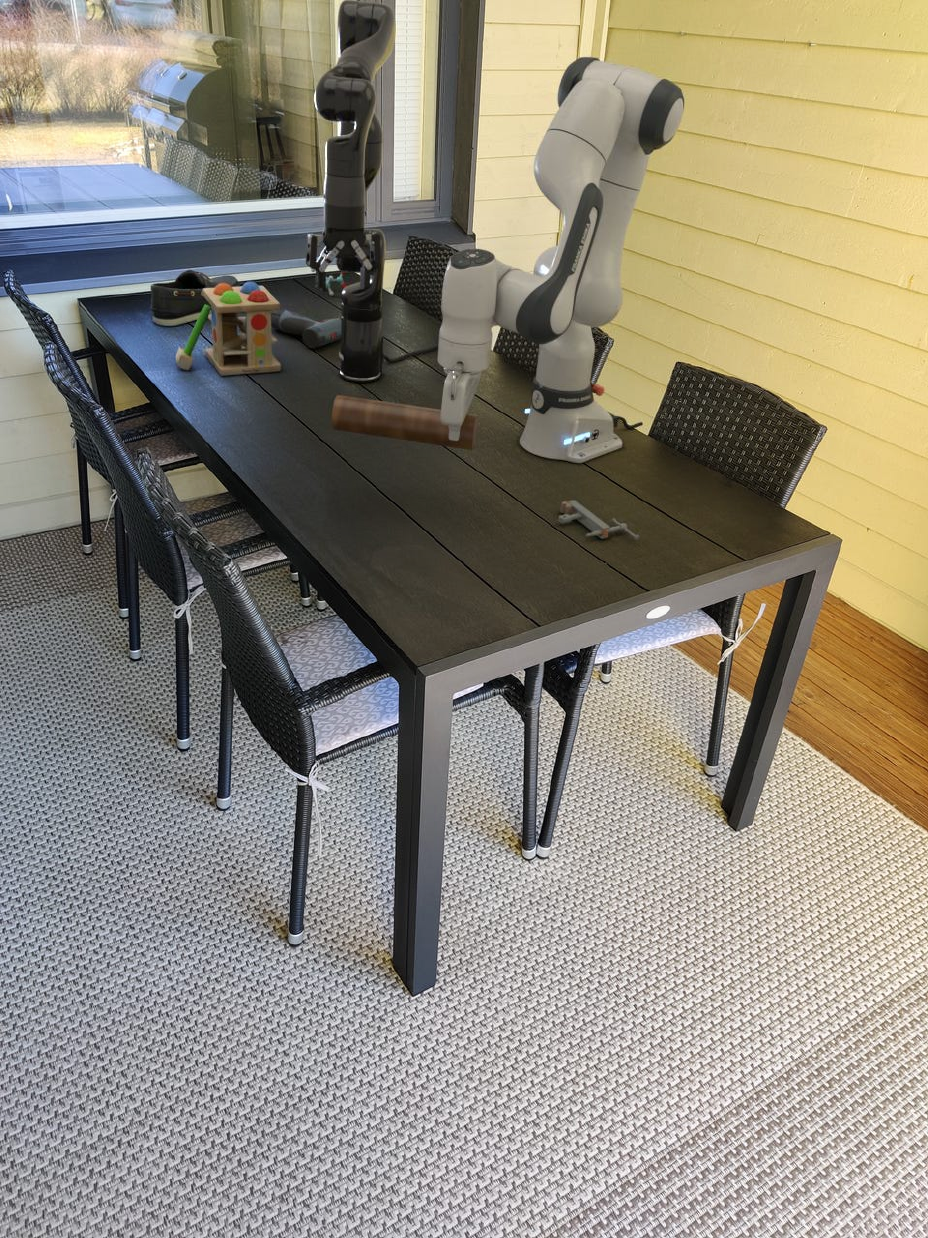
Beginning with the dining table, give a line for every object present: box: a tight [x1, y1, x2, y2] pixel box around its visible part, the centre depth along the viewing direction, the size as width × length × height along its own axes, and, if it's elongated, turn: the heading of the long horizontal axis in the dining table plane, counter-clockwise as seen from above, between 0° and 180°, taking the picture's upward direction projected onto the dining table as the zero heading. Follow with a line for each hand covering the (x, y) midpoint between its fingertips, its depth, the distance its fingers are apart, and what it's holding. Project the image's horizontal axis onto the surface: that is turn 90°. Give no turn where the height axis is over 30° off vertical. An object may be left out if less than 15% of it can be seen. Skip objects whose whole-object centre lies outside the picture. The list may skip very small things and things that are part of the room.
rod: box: [331, 394, 479, 451], centre depth 172 cm, size 25×6×6 cm, turn 81°
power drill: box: [271, 308, 341, 349], centre depth 252 cm, size 5×19×20 cm
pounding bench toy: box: [174, 281, 282, 377], centre depth 225 cm, size 23×14×18 cm, turn 116°
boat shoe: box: [149, 269, 241, 327], centre depth 259 cm, size 13×33×10 cm, turn 147°
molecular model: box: [310, 268, 348, 297], centre depth 283 cm, size 12×10×10 cm
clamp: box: [558, 499, 640, 541], centre depth 178 cm, size 15×2×10 cm
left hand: (343, 289), depth 189 cm, fingers open, 8 cm apart
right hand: (457, 430), depth 171 cm, fingers closed on rod, 6 cm apart
